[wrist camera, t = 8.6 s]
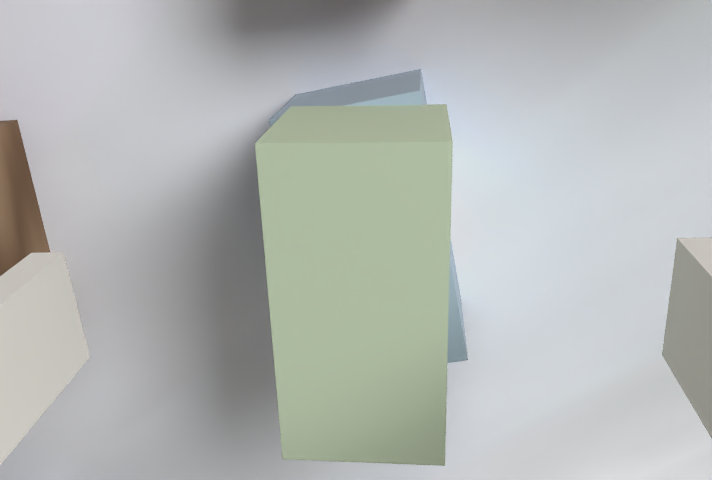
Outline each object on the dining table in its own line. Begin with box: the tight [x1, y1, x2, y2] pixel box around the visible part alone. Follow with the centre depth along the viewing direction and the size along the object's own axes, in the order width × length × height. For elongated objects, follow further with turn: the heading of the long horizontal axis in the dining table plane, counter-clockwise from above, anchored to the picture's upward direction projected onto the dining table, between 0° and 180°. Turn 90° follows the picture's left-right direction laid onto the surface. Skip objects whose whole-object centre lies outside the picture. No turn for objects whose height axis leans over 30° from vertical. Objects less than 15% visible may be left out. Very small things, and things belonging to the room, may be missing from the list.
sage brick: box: [255, 104, 453, 466], centre depth 17 cm, size 8×4×4 cm, turn 2°
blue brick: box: [269, 69, 468, 363], centre depth 20 cm, size 8×4×4 cm, turn 12°
